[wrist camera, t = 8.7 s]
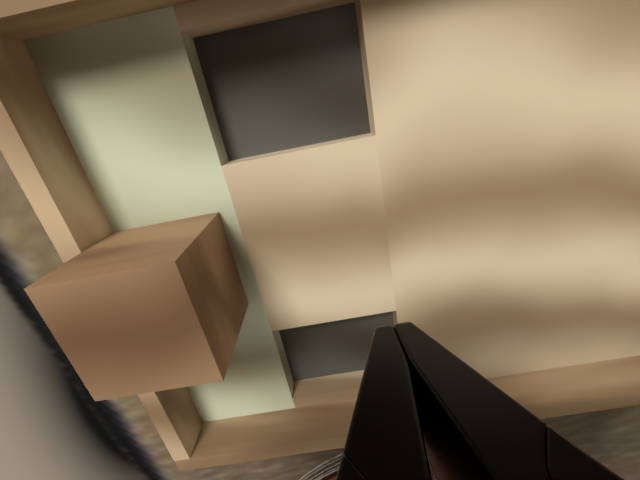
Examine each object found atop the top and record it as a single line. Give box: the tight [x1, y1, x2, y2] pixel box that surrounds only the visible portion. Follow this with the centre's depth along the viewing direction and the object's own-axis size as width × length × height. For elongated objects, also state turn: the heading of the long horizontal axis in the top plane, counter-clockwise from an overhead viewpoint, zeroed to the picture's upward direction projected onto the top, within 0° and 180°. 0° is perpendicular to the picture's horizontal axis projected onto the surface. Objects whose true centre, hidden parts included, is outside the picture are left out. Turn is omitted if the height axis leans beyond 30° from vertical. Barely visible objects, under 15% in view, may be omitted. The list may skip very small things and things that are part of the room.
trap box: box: [0, 0, 640, 471], centre depth 13 cm, size 20×24×4 cm
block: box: [24, 212, 249, 401], centre depth 12 cm, size 4×4×4 cm
